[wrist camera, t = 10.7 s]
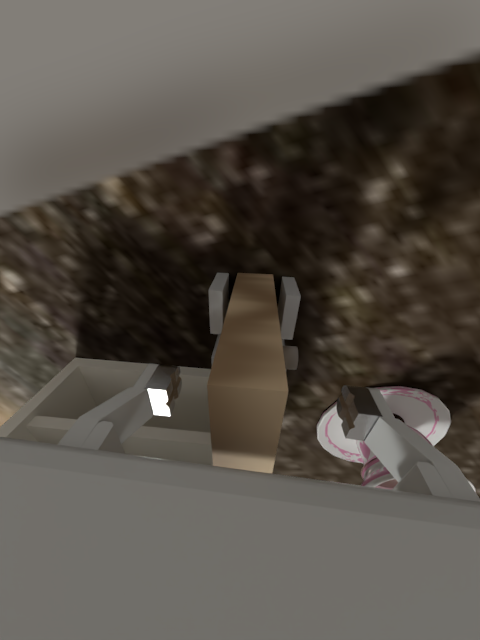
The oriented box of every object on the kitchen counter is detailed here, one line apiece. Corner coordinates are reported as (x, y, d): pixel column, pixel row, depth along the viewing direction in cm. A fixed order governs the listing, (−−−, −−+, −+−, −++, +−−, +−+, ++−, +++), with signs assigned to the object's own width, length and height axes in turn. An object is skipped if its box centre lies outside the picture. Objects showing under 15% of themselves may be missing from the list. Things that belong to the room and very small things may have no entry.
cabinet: (294, 277, 15) (366, 478, 5) (266, 439, 25) (270, 618, 15) (31, 261, 16) (-386, 397, 6) (105, 423, 26) (2, 581, 15)
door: (284, 275, 15) (316, 393, 6) (272, 368, 19) (281, 513, 11) (237, 272, 15) (206, 384, 7) (235, 366, 20) (215, 505, 11)
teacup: (417, 461, 25) (459, 535, 20) (308, 454, 26) (320, 522, 21) (472, 386, 19) (555, 465, 13) (326, 380, 20) (350, 451, 14)
